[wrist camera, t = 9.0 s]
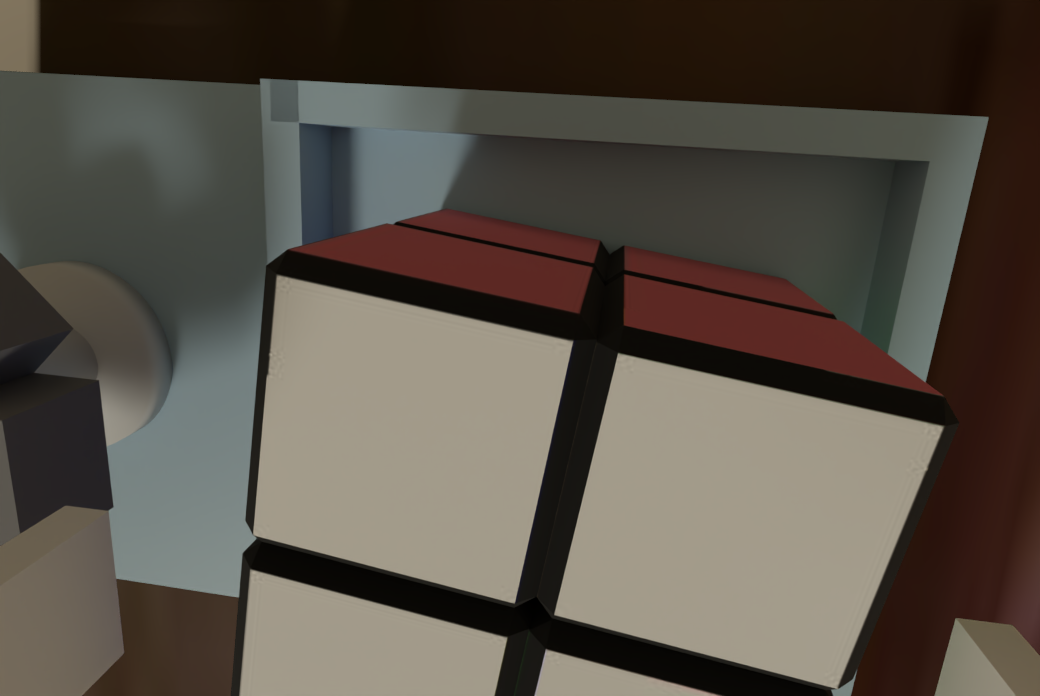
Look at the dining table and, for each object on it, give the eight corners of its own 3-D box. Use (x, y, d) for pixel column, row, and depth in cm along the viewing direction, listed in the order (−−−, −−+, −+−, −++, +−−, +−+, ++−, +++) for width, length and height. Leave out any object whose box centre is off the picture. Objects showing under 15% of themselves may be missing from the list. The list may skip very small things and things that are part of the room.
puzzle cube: (438, 204, 19) (254, 246, 10) (795, 278, 18) (983, 406, 9) (391, 512, 22) (215, 780, 12) (698, 589, 21) (760, 941, 12)
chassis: (13, 535, 27) (-234, 686, 19) (-63, 71, 22) (-429, 23, 14) (808, 654, 23) (901, 902, 15) (921, 125, 18) (1137, 99, 11)
